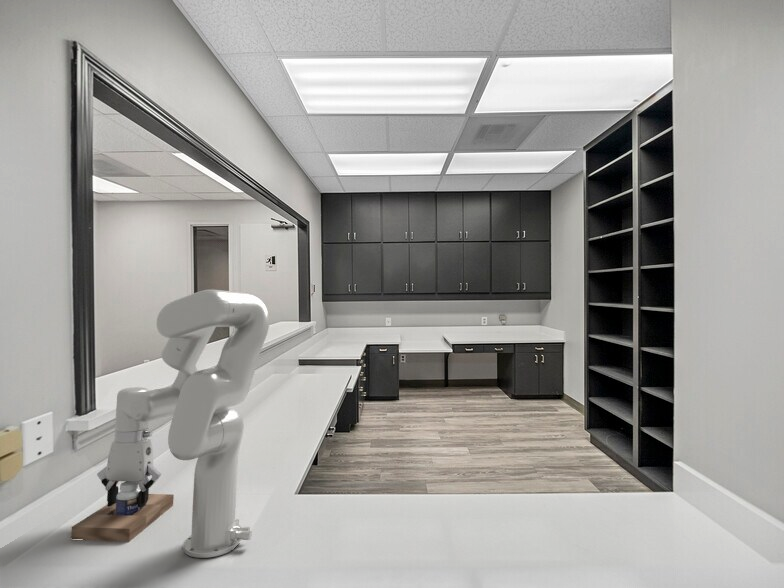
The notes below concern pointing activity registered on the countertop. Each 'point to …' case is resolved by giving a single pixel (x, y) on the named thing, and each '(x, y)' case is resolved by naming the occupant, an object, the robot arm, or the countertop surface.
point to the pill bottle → (127, 499)
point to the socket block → (121, 521)
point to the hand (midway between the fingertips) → (127, 504)
